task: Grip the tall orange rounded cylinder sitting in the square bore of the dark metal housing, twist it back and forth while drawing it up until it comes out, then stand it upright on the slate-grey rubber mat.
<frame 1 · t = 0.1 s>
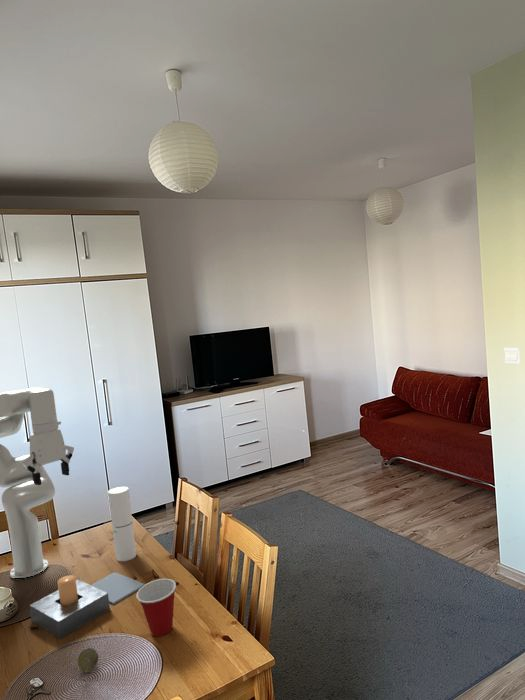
hand: (52, 479, 165), 37 cm above the table, tool pointing down, fingers open, 9 cm apart
housing: (71, 615, 152), on the table
lime: (88, 669, 127), on the table
plastic cup: (160, 630, 141), on the table
orange rounded cylinder: (68, 597, 152), in the housing
cylindrical container: (126, 557, 187), on the table
mat: (114, 588, 165), on the table
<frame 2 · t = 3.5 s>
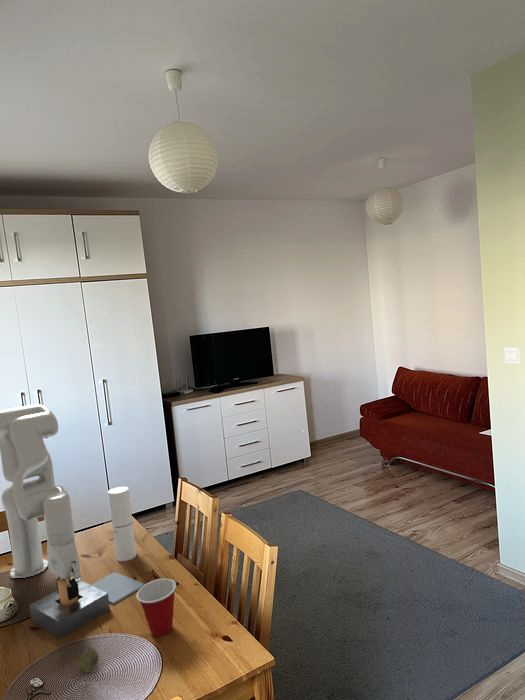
hand: (68, 594, 152), 6 cm above the table, tool pointing down, fingers closed on orange rounded cylinder, 5 cm apart
orange rounded cylinder: (68, 597, 152), in the housing, touching gripper
everything else where it was.
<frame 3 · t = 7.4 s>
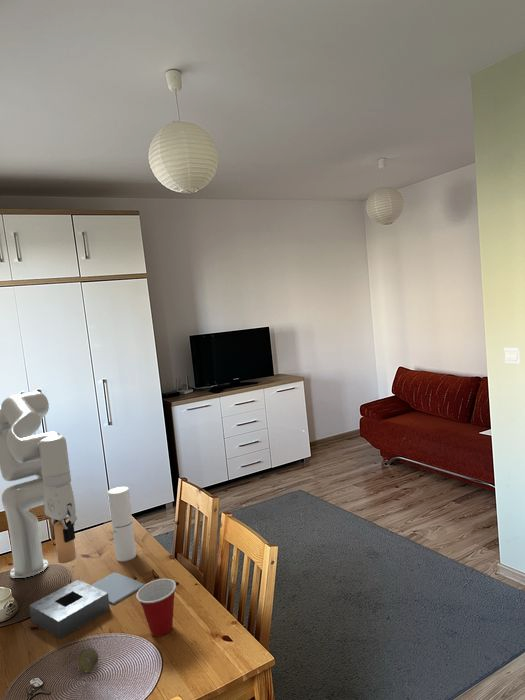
hand: (64, 537, 151), 23 cm above the table, tool pointing down, fingers closed on orange rounded cylinder, 5 cm apart
orange rounded cylinder: (64, 541, 151), point 22 cm above the table, touching gripper
everything else where it was.
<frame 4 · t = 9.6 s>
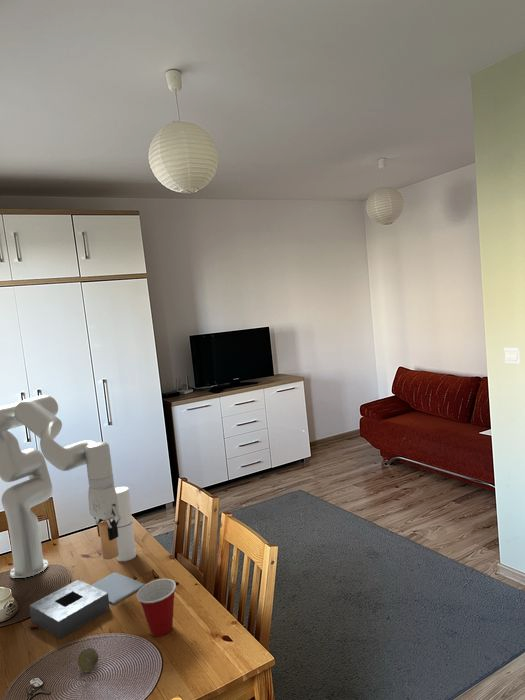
hand: (108, 536, 164), 17 cm above the table, tool pointing down, fingers closed on orange rounded cylinder, 5 cm apart
orange rounded cylinder: (108, 539, 164), point 16 cm above the table, touching gripper
everything else where it was.
when the fingers open (8 cm above the table, at t = 11.6 s): orange rounded cylinder drops 1 cm, resting on mat.
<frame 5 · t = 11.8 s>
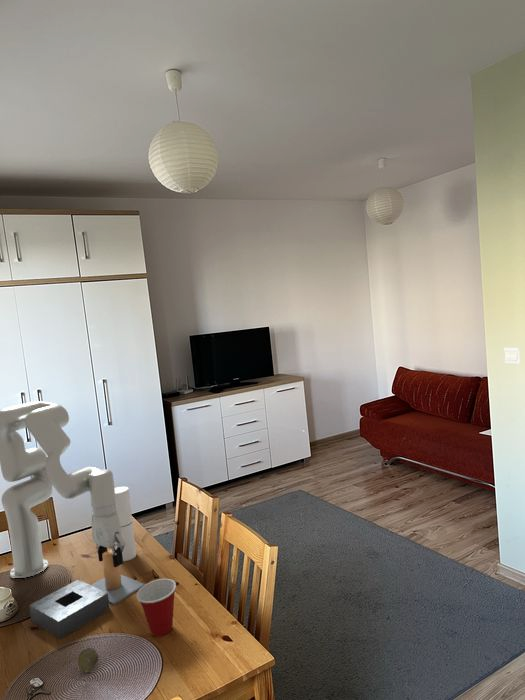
hand: (111, 562, 165), 9 cm above the table, tool pointing down, fingers open, 7 cm apart
orange rounded cylinder: (112, 569, 165), on the mat, point 6 cm above the table
everything else where it was.
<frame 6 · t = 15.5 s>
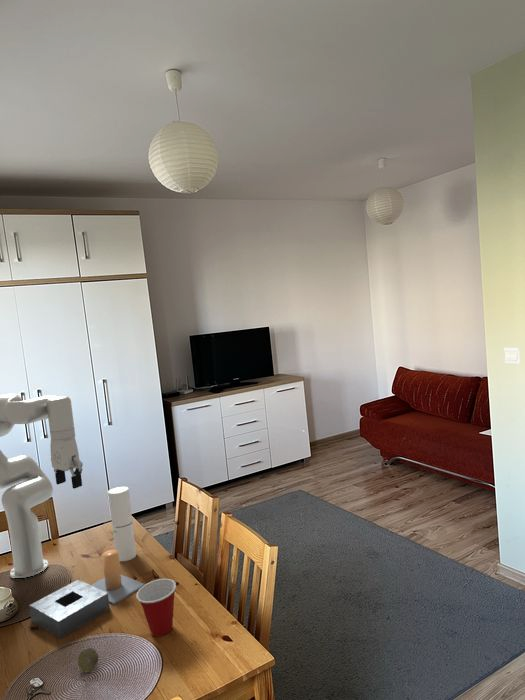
hand: (69, 485, 169), 33 cm above the table, tool pointing down, fingers open, 9 cm apart
nothing on the table moved.
at the end: orange rounded cylinder inside the target area on the mat (0.2 cm from its centre), point 6.2 cm above the mat's base; orange rounded cylinder tilted 1°; orange rounded cylinder touching mat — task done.
